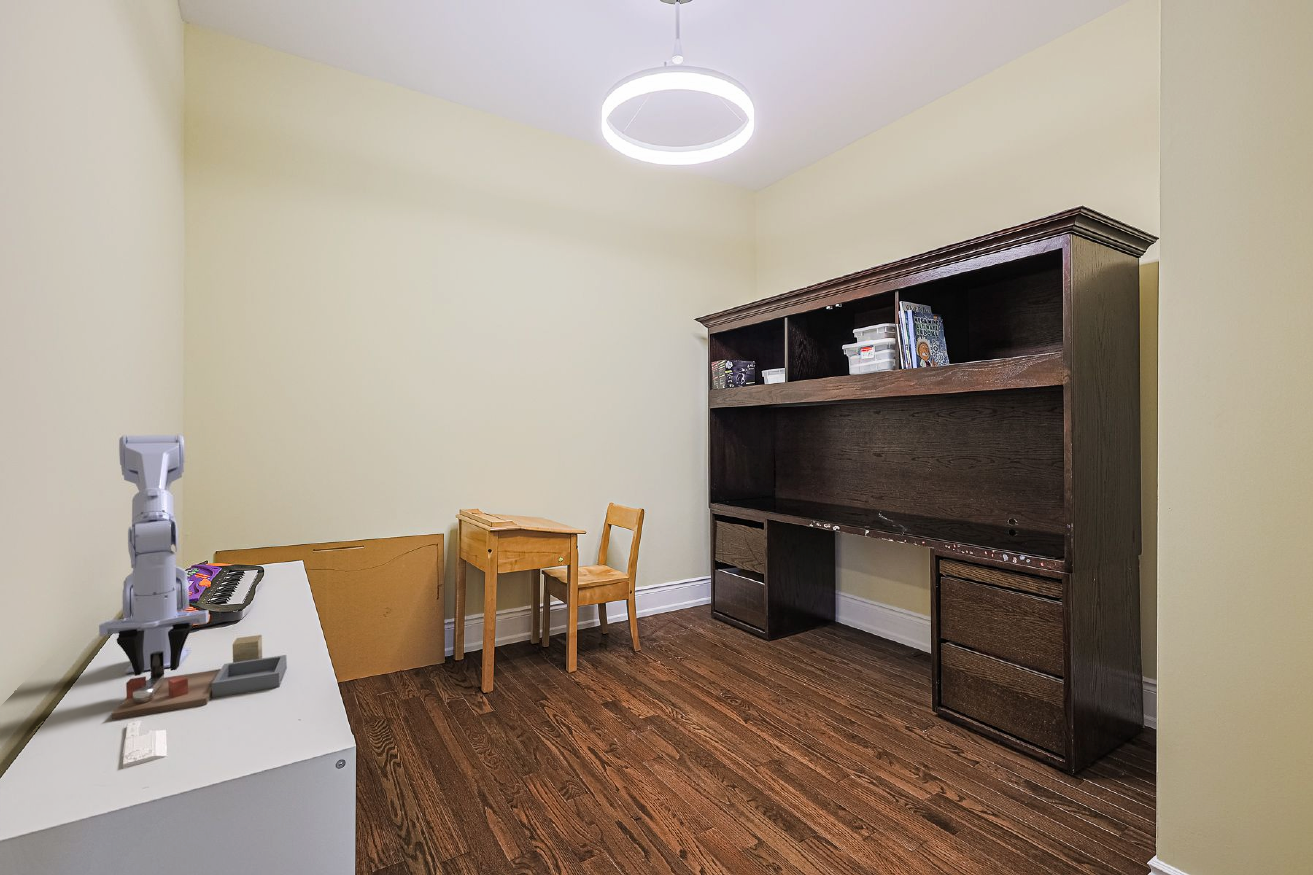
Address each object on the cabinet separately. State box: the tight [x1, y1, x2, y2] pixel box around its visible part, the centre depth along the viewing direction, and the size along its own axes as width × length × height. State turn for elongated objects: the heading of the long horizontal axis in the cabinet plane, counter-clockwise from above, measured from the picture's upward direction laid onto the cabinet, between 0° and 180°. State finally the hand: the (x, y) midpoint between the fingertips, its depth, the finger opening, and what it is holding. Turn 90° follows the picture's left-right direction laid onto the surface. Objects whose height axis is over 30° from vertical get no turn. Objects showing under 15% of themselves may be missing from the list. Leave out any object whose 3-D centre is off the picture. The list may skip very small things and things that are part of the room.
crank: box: [133, 651, 165, 703], centre depth 102 cm, size 9×3×5 cm, turn 25°
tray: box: [211, 654, 288, 699], centre depth 109 cm, size 10×10×2 cm
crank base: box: [111, 668, 221, 721], centre depth 104 cm, size 14×12×4 cm
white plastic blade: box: [122, 720, 168, 769], centre depth 88 cm, size 5×15×1 cm, turn 38°
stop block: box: [232, 634, 263, 663], centre depth 116 cm, size 4×4×5 cm
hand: (157, 670), depth 106 cm, fingers open, 4 cm apart
